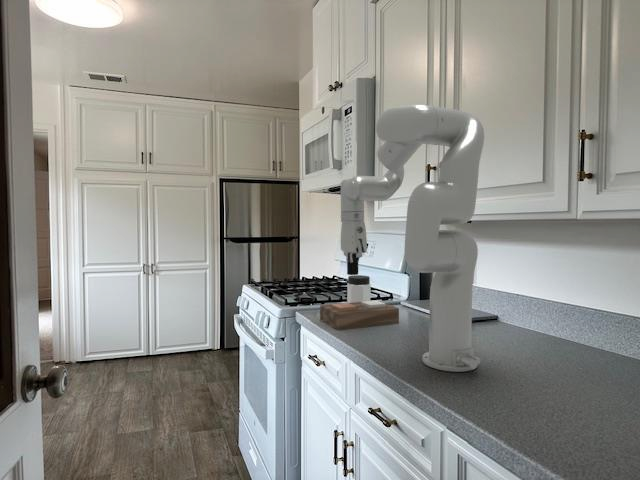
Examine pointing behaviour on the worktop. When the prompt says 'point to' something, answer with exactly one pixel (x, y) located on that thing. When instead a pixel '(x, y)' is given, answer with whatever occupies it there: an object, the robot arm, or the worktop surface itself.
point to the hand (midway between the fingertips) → (352, 274)
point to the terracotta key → (343, 306)
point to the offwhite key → (373, 304)
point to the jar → (358, 288)
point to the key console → (359, 316)
